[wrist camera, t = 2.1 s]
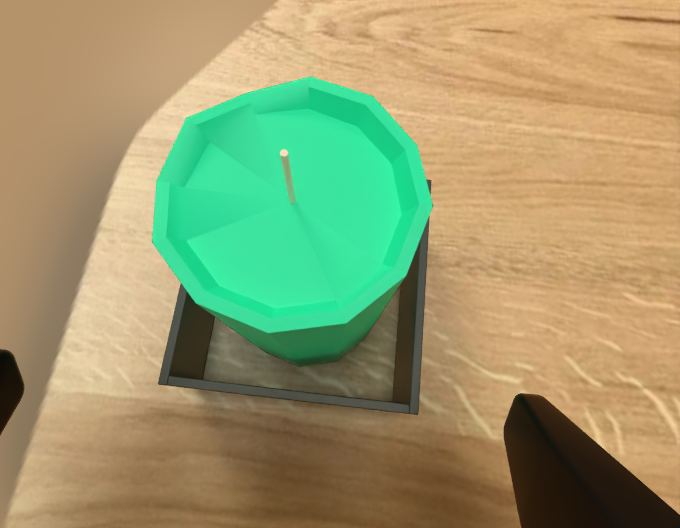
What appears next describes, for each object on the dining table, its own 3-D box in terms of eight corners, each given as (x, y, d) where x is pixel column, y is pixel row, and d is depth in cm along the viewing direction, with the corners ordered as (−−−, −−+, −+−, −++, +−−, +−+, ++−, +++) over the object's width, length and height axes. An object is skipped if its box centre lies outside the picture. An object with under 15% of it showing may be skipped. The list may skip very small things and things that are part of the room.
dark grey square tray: (398, 410, 18) (418, 414, 14) (193, 386, 18) (157, 384, 14) (411, 220, 20) (431, 179, 17) (231, 199, 20) (210, 154, 17)
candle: (382, 243, 20) (457, 38, 9) (370, 375, 18) (443, 342, 7) (254, 227, 20) (158, 3, 9) (229, 357, 18) (66, 295, 7)
